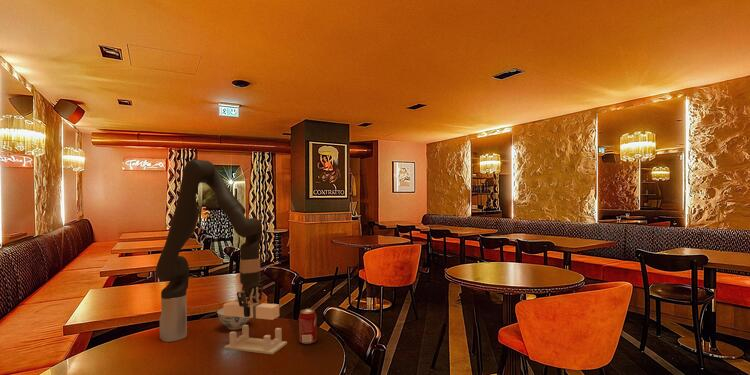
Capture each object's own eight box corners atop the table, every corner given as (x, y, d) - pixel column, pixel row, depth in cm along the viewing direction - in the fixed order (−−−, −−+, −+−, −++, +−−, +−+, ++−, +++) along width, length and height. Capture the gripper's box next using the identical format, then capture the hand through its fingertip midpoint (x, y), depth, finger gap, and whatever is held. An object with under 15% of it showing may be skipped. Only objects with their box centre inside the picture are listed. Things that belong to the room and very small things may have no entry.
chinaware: (212, 327, 167) (212, 309, 167) (245, 319, 177) (245, 302, 177) (225, 336, 156) (225, 317, 156) (259, 327, 166) (259, 309, 166)
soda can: (313, 345, 144) (312, 314, 144) (296, 344, 145) (295, 313, 146) (319, 338, 151) (318, 308, 151) (303, 337, 152) (302, 308, 152)
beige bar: (223, 315, 147) (223, 304, 147) (231, 312, 151) (231, 300, 151) (272, 319, 140) (272, 307, 140) (279, 315, 144) (279, 304, 144)
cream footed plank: (224, 348, 143) (224, 332, 143) (241, 338, 153) (241, 323, 153) (272, 354, 137) (272, 337, 137) (287, 343, 146) (286, 328, 146)
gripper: (253, 266, 154) (254, 308, 153) (229, 273, 140) (230, 319, 140) (269, 266, 152) (270, 309, 151) (246, 274, 138) (247, 321, 138)
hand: (251, 314), depth 146 cm, fingers closed on beige bar, 4 cm apart
